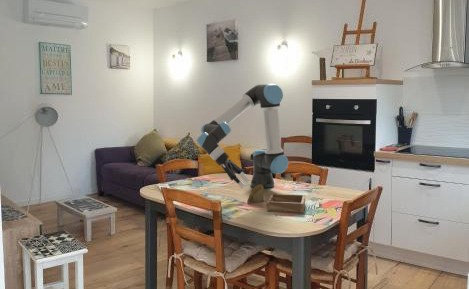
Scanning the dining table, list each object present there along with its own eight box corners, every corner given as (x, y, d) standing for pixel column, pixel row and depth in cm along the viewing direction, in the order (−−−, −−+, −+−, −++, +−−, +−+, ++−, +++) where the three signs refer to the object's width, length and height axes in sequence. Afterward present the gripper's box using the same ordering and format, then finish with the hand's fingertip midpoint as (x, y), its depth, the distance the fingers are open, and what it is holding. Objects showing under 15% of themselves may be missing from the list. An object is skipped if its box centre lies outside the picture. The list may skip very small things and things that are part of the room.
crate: (271, 202, 232) (271, 193, 231) (305, 204, 228) (305, 195, 227) (267, 211, 214) (267, 201, 214) (303, 213, 211) (303, 203, 210)
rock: (247, 200, 227) (266, 197, 228) (244, 186, 231) (262, 183, 232) (247, 208, 237) (264, 205, 238) (244, 194, 241) (261, 191, 242)
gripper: (220, 157, 248) (245, 183, 247) (208, 164, 224) (236, 193, 222) (229, 148, 246) (254, 175, 245) (218, 154, 222) (246, 184, 221)
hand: (246, 184), depth 234 cm, fingers open, 13 cm apart
